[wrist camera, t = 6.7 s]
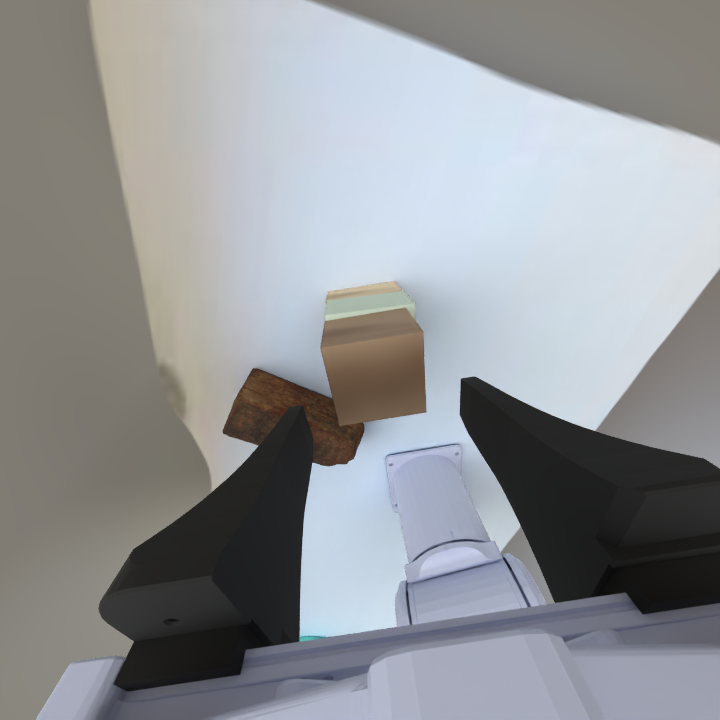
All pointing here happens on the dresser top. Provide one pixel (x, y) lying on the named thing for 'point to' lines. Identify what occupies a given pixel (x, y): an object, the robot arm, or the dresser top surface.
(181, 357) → the dresser top surface
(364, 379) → the walnut block
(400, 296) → the sage block
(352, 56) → the dresser top surface
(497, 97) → the dresser top surface
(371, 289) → the oak block
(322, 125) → the dresser top surface
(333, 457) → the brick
